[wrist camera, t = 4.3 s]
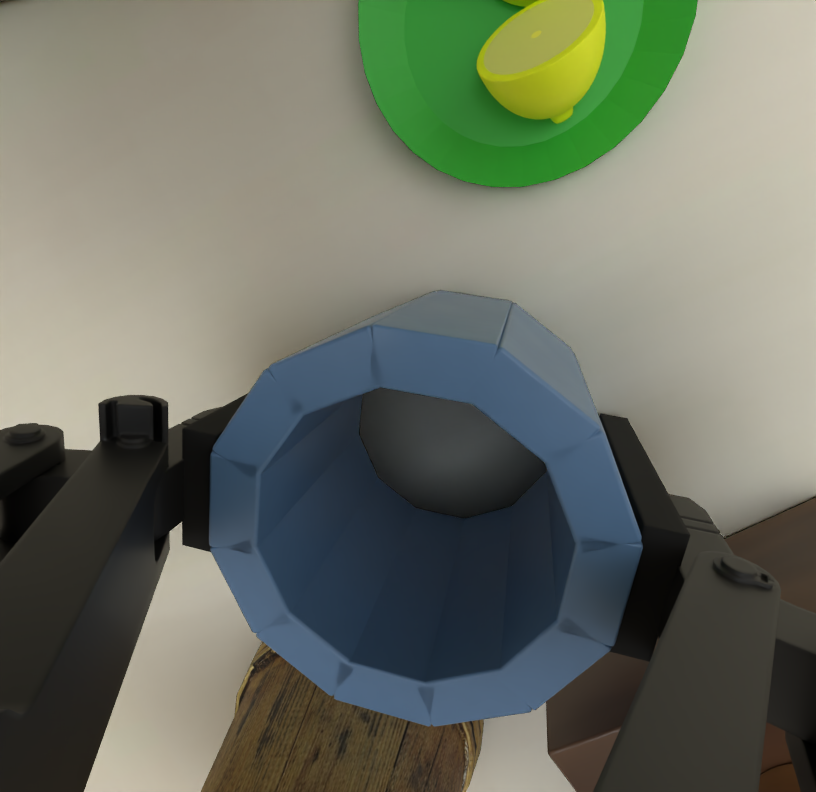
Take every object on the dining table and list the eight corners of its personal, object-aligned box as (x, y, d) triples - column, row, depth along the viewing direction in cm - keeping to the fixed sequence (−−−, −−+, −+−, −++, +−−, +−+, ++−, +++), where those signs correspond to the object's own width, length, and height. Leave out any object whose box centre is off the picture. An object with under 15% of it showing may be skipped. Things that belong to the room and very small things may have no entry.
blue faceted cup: (339, 275, 16) (210, 297, 10) (622, 317, 15) (694, 375, 8) (319, 515, 19) (206, 662, 12) (560, 570, 17) (579, 771, 11)
